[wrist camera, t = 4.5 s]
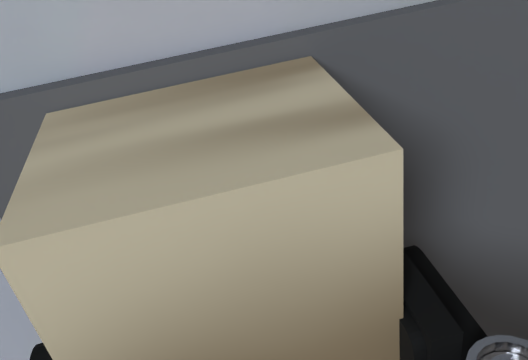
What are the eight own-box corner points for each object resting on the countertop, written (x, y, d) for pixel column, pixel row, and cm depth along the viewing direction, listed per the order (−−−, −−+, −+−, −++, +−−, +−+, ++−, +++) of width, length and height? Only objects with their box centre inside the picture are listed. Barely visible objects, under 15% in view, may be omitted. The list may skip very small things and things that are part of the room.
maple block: (46, 113, 9) (-11, 248, 6) (310, 55, 10) (403, 148, 6) (169, 409, 14) (178, 578, 10) (341, 360, 14) (403, 506, 11)
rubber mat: (-49, 103, 9) (-56, 112, 9) (1023, -125, 12) (1051, -126, 11) (210, 603, 21) (211, 615, 21) (707, 439, 24) (715, 447, 23)
